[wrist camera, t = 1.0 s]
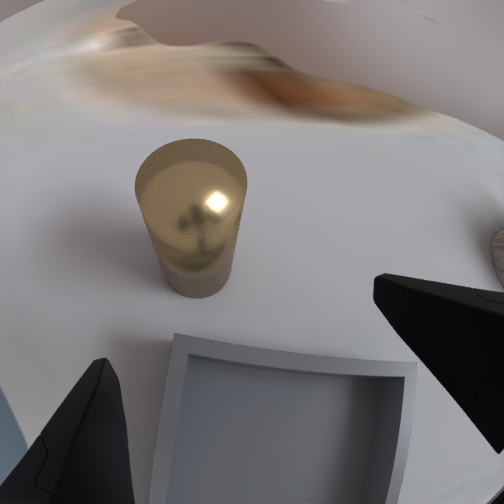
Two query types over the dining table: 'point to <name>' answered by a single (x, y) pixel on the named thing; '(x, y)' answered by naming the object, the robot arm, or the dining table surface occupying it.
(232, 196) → the brass canister
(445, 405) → the dining table surface
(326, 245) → the dining table surface
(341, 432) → the charcoal bin
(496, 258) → the ceramic cottage
